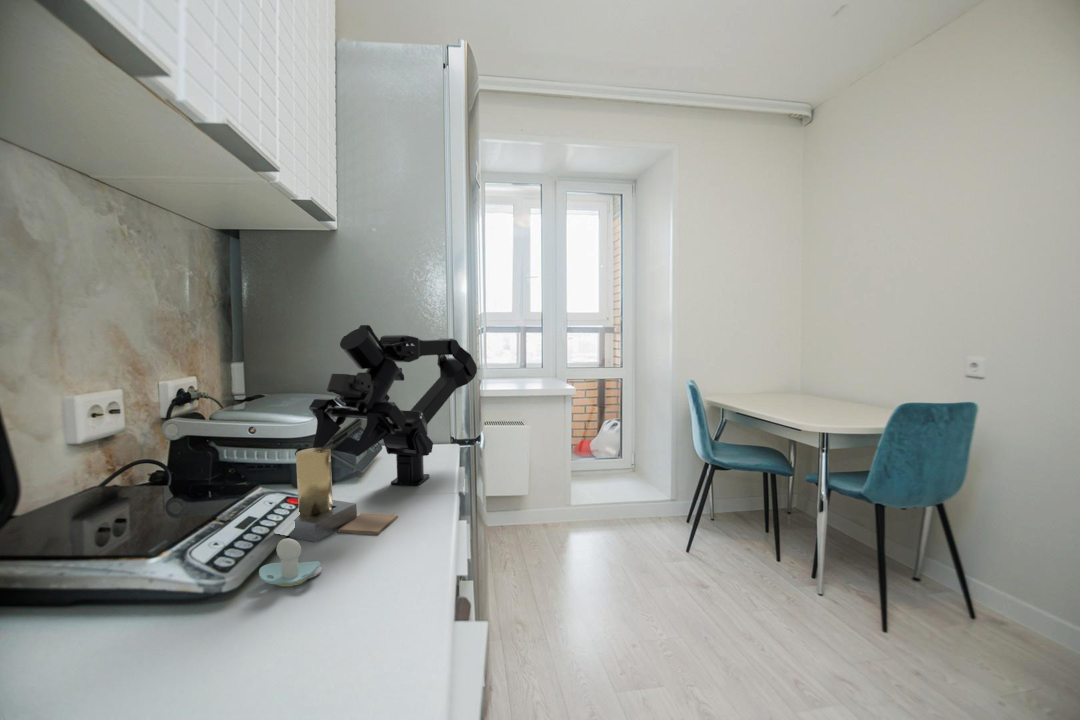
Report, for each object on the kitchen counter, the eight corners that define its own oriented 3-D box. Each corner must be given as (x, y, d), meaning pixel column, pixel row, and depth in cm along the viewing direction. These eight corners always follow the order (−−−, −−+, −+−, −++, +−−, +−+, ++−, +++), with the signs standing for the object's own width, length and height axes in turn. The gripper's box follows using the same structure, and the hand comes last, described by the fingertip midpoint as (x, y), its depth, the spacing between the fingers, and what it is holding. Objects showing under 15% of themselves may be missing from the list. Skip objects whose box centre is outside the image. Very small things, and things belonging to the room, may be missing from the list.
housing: (317, 513, 84) (317, 497, 84) (357, 520, 81) (356, 503, 81) (273, 534, 76) (272, 516, 76) (315, 542, 73) (314, 523, 73)
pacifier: (277, 570, 65) (253, 593, 59) (276, 526, 65) (251, 544, 59) (331, 568, 65) (312, 590, 59) (329, 524, 65) (311, 542, 59)
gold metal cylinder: (312, 518, 82) (309, 447, 81) (339, 520, 81) (336, 447, 80) (292, 531, 77) (288, 455, 76) (321, 533, 76) (317, 455, 75)
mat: (361, 515, 83) (361, 512, 83) (398, 517, 82) (398, 514, 82) (338, 532, 76) (338, 529, 76) (378, 534, 75) (378, 531, 75)
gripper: (314, 356, 89) (265, 424, 80) (394, 357, 83) (351, 431, 73) (346, 392, 97) (305, 457, 88) (421, 395, 91) (386, 466, 81)
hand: (334, 453), depth 82 cm, fingers open, 9 cm apart
